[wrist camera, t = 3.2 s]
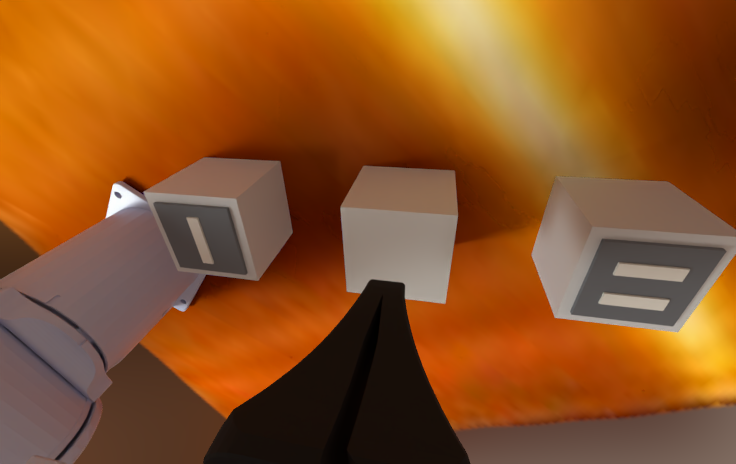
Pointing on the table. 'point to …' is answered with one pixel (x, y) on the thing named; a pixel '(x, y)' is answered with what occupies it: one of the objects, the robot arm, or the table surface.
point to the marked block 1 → (223, 216)
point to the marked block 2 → (628, 252)
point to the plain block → (400, 230)
